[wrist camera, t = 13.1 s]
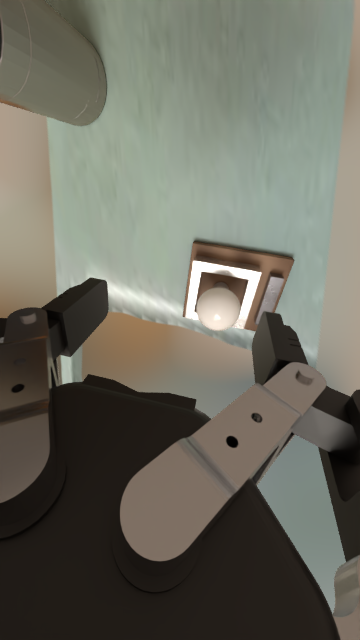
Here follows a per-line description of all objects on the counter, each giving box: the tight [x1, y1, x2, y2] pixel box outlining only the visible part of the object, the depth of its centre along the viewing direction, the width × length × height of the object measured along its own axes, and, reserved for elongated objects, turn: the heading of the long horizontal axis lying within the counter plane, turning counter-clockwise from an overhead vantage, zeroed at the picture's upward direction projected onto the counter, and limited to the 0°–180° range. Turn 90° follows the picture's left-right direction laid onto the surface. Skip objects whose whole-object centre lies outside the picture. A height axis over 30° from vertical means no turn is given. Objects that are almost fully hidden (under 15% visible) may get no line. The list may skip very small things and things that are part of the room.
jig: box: [183, 241, 294, 331], centre depth 41 cm, size 16×14×4 cm
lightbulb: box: [196, 282, 240, 331], centre depth 37 cm, size 6×6×11 cm
